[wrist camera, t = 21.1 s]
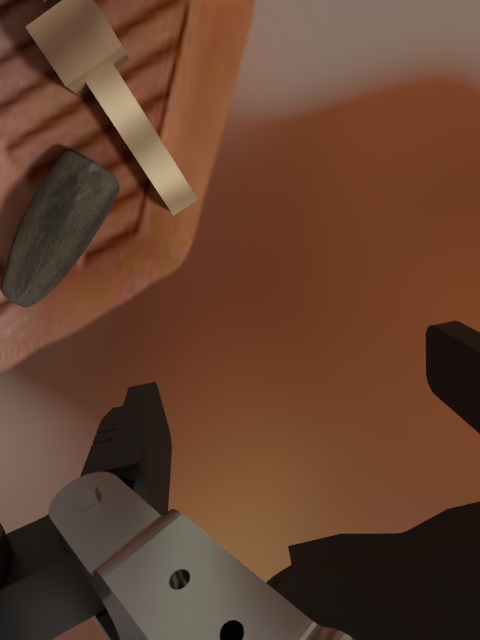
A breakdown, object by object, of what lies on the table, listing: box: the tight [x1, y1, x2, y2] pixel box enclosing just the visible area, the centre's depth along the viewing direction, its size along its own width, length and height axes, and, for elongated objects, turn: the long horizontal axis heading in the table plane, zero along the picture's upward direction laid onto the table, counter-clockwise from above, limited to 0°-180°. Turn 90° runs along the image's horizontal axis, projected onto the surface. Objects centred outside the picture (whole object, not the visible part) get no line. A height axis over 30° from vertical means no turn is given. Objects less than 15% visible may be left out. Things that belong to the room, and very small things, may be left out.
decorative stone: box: [0, 151, 119, 307], centre depth 42 cm, size 17×6×4 cm, turn 145°
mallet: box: [26, 0, 198, 215], centre depth 39 cm, size 19×6×5 cm, turn 31°
